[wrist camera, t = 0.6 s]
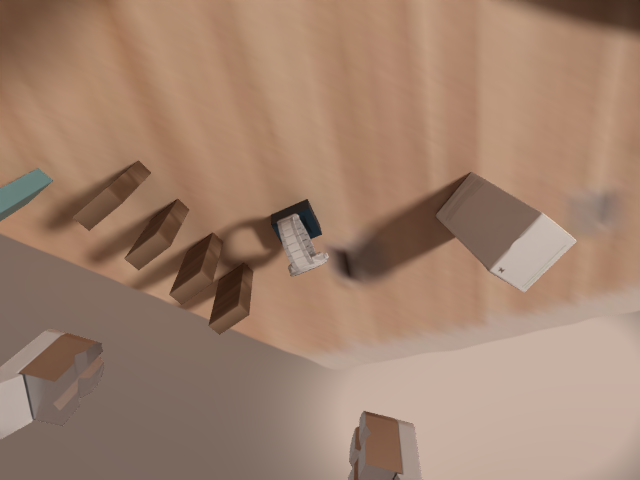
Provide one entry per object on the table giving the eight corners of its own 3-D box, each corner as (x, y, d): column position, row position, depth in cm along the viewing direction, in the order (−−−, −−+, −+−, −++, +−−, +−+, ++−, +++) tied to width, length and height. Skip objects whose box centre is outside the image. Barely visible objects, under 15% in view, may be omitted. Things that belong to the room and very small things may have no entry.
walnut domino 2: (151, 220, 49) (124, 258, 40) (178, 198, 48) (156, 233, 39) (162, 230, 50) (138, 270, 41) (189, 209, 49) (170, 246, 40)
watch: (290, 249, 53) (293, 295, 44) (265, 204, 49) (263, 243, 40) (325, 234, 53) (336, 277, 43) (302, 187, 49) (309, 223, 39)
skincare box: (462, 234, 55) (522, 297, 42) (431, 214, 53) (485, 273, 39) (502, 190, 52) (581, 242, 39) (471, 167, 50) (544, 213, 36)
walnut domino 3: (187, 251, 52) (169, 294, 43) (213, 232, 51) (200, 272, 42) (197, 261, 52) (181, 304, 44) (223, 242, 51) (212, 282, 43)
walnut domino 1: (110, 184, 46) (72, 217, 37) (138, 160, 45) (105, 189, 36) (123, 195, 47) (89, 230, 38) (151, 172, 46) (121, 203, 37)
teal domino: (12, 192, 45) (-51, 227, 36) (38, 168, 44) (-21, 199, 35) (27, 203, 46) (-31, 241, 37) (53, 180, 45) (-1, 213, 36)
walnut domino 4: (219, 280, 54) (208, 325, 46) (244, 262, 53) (238, 305, 45) (228, 288, 55) (219, 334, 47) (253, 271, 54) (249, 314, 46)
